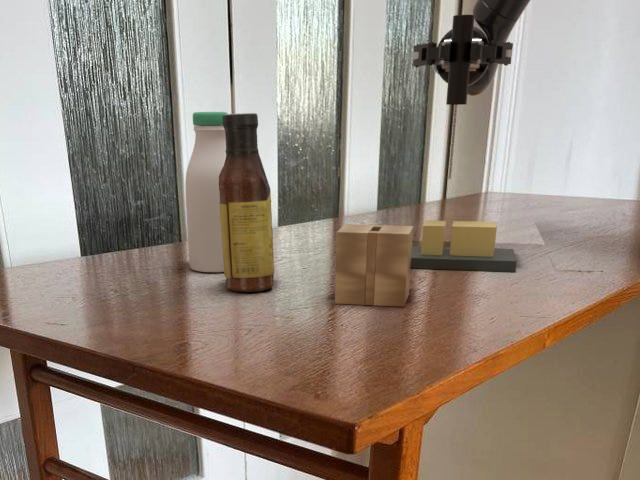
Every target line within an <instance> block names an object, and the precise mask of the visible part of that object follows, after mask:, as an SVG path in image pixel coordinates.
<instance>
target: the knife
mask: <svg viewBox="0 0 640 480" xmlns="http://www.w3.org/2000/svg"><path fill="white" fill-rule="evenodd" d="M474 25H475V20H474V15H472V14H456V15H455V14H454V15H453V16H452V28H451V30H452V39H451V54H450V64H449V76H448V83H447V90H446V102H445V103H446V104H445V105H446V106H448V105H449V106H451V105H452V106H453V105H454V108H453V120H452V134H451V145H450V157H449V168H448V169H449V170H448V179H449V180H450V179H452V174H453V163H454V151H455V142H456V141H455V140H456V139H455V138H456V129H457V119H458V118H457V117H458V116H457V115H458V108H459V107H458V106H459V105H460V106H461V105H467V103H468V94H467V92H468V82H469V71H470V53H471V42H472V38H473V27H475V26H474Z"/></svg>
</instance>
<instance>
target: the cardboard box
mask: <svg viewBox="0 0 640 480" xmlns="http://www.w3.org/2000/svg"><path fill="white" fill-rule="evenodd" d="M335 233H336V234H335V235H336V237H335V238H336V240H335V279H334V280H335V281H334V304H335V305H336V304H337V305H355V306H356V305H357V306H375V307H399V308H405V306H406V303H407V301H408V298H409V296H410V281H411V270H412V268H411V254H412V246H413V238H414V237H413V236H414V226H413V225H389V224H387V225H386V224H384V225H383V224H344V225H343V226H341V228H340V229H338V230H337V231H336V232H335Z"/></svg>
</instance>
